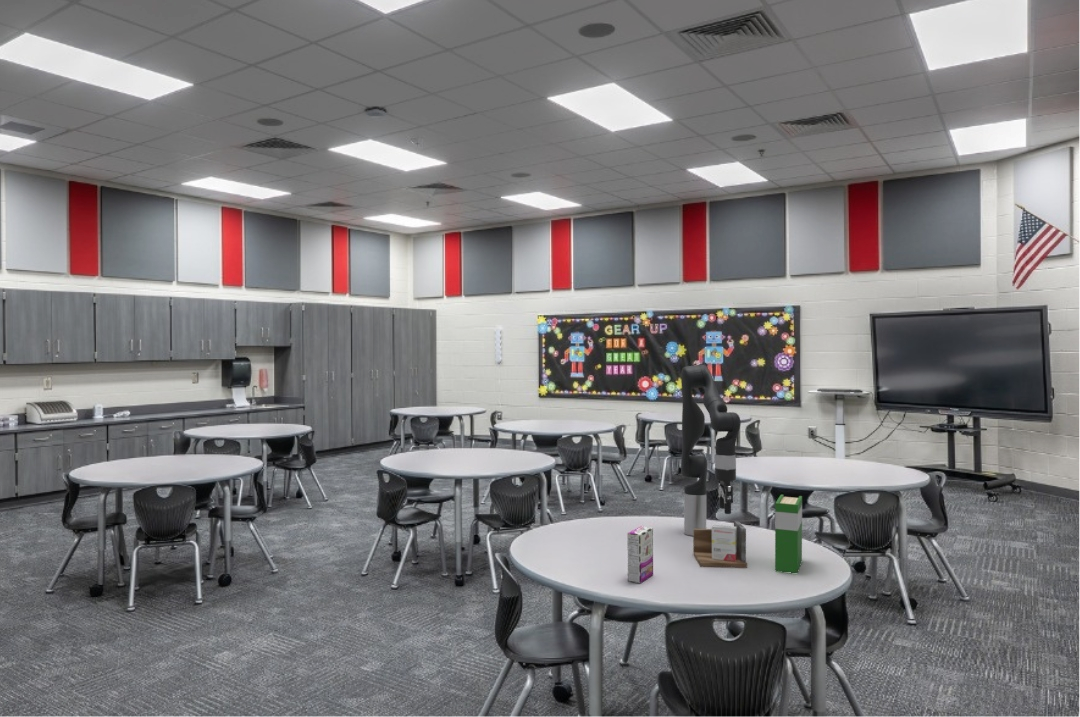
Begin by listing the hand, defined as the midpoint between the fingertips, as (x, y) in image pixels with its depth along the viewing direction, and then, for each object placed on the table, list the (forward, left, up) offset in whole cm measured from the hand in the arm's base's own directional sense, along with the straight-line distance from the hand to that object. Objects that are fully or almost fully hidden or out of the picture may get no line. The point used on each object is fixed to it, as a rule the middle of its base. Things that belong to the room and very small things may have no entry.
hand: (725, 511), depth 252 cm
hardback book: (+2, +22, -19) cm, 30 cm away
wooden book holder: (-2, -2, -19) cm, 19 cm away
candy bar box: (+20, -33, -19) cm, 43 cm away
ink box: (0, 0, -18) cm, 18 cm away
